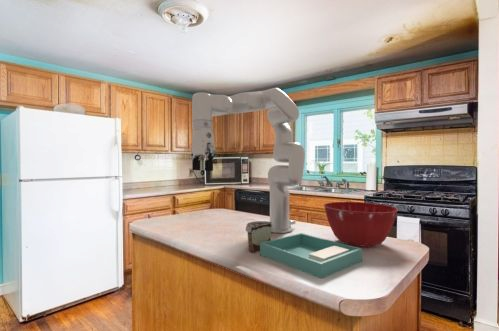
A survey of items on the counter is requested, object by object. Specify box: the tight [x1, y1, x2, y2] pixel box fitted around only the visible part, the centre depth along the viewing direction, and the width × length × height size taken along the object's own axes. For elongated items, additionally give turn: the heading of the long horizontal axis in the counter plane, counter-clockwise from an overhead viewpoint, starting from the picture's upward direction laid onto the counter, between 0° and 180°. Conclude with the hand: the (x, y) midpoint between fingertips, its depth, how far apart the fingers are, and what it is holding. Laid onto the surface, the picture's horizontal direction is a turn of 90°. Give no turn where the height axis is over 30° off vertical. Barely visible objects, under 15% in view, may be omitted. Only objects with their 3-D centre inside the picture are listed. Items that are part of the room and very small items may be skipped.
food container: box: [245, 220, 273, 254], centre depth 109 cm, size 12×6×10 cm, turn 134°
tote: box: [259, 232, 363, 279], centre depth 97 cm, size 22×26×5 cm
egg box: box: [308, 246, 349, 262], centre depth 90 cm, size 14×6×4 cm, turn 129°
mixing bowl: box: [323, 201, 399, 249], centre depth 117 cm, size 28×28×16 cm
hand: (202, 170), depth 109 cm, fingers open, 9 cm apart
